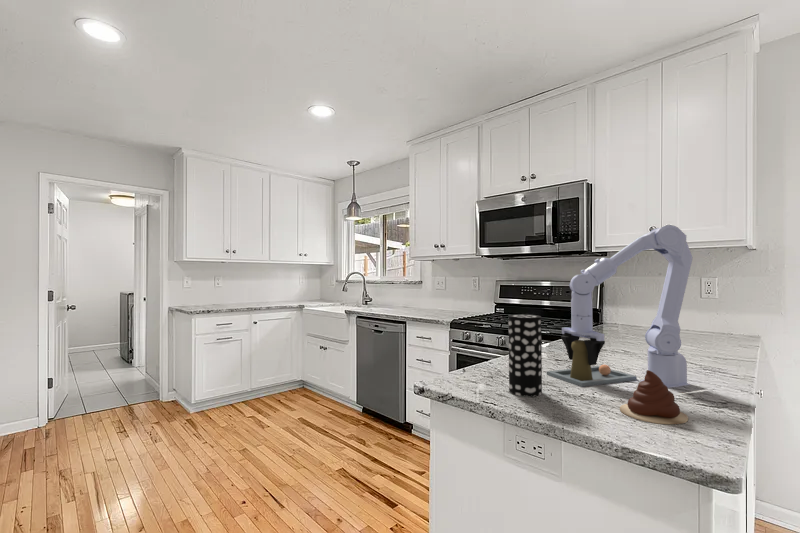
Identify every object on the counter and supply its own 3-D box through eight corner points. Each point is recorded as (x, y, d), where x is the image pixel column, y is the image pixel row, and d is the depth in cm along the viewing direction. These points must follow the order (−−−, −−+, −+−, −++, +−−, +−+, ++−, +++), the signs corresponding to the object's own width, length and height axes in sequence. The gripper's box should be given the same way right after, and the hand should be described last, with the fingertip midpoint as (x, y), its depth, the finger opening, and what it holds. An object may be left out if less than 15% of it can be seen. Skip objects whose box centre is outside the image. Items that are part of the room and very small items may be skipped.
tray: (597, 370, 132) (597, 365, 132) (636, 381, 119) (636, 376, 119) (546, 376, 125) (546, 371, 125) (581, 388, 112) (581, 383, 112)
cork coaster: (647, 401, 100) (647, 400, 100) (702, 419, 88) (702, 418, 88) (606, 408, 96) (606, 406, 96) (658, 428, 84) (658, 426, 84)
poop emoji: (631, 416, 90) (630, 373, 90) (624, 404, 98) (624, 364, 98) (685, 421, 86) (684, 377, 86) (673, 408, 94) (673, 367, 94)
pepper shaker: (595, 381, 117) (595, 342, 117) (573, 380, 118) (573, 342, 118) (588, 375, 123) (588, 339, 123) (567, 375, 124) (567, 338, 124)
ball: (604, 373, 126) (604, 363, 126) (613, 376, 123) (613, 365, 123) (596, 374, 125) (596, 364, 125) (605, 377, 122) (604, 366, 122)
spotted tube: (547, 391, 109) (546, 315, 110) (533, 398, 103) (532, 318, 103) (518, 385, 115) (517, 313, 115) (503, 392, 109) (502, 316, 109)
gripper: (553, 313, 126) (554, 358, 126) (590, 318, 113) (590, 368, 113) (571, 312, 129) (572, 356, 129) (610, 317, 115) (610, 366, 115)
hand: (582, 361), depth 121 cm, fingers open, 7 cm apart
